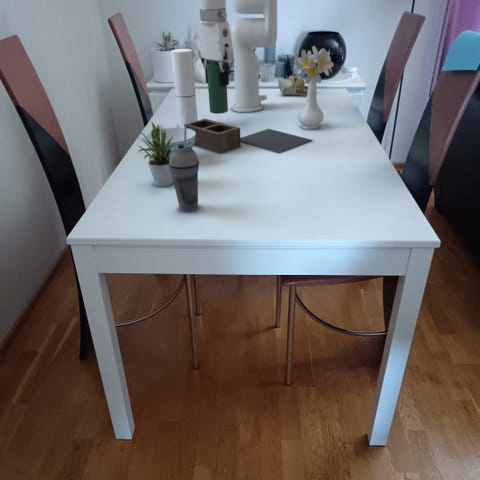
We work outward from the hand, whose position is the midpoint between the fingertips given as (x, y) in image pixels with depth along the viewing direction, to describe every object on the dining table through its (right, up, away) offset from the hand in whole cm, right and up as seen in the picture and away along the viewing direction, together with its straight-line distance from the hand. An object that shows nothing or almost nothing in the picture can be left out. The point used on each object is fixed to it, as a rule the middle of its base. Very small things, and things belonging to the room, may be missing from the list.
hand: (217, 83), depth 151 cm
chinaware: (-14, -23, +3) cm, 27 cm away
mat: (+18, -12, +15) cm, 26 cm away
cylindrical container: (-12, 0, +33) cm, 35 cm away
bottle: (0, -6, +5) cm, 8 cm away
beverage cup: (-6, -45, -27) cm, 53 cm away
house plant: (-15, -34, -12) cm, 39 cm away
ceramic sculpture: (+31, +26, +65) cm, 77 cm away
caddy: (-2, -14, +14) cm, 20 cm away
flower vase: (+33, -4, +25) cm, 42 cm away
